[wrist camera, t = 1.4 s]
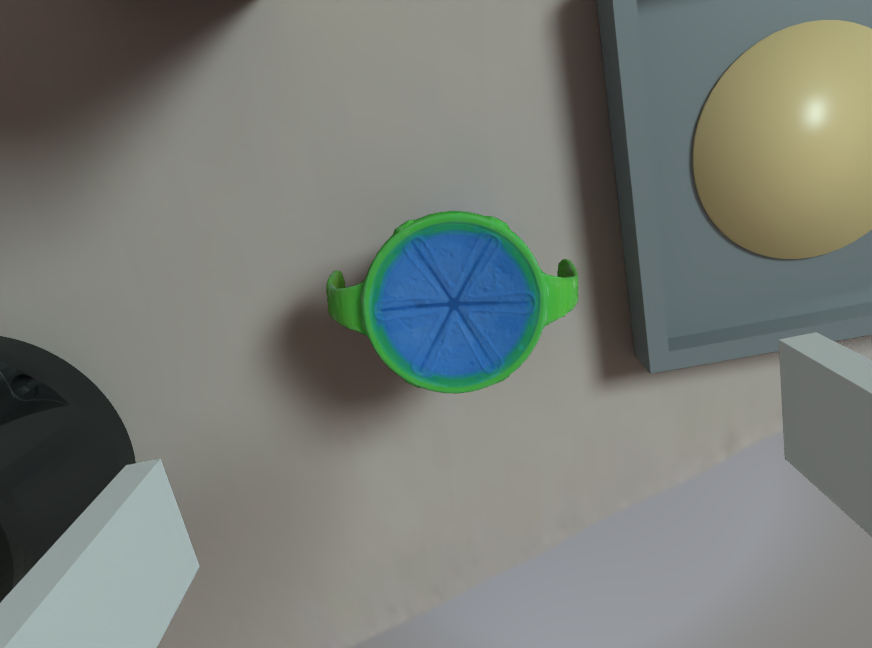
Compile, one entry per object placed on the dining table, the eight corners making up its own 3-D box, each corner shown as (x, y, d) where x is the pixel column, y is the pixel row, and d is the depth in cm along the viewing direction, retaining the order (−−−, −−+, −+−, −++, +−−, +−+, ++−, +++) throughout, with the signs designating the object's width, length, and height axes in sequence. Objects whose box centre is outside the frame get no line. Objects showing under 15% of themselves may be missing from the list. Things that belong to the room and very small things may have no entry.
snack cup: (567, 203, 32) (605, 222, 25) (550, 347, 34) (581, 402, 27) (342, 189, 32) (315, 204, 25) (339, 335, 34) (314, 387, 27)
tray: (634, 356, 35) (650, 373, 32) (593, -28, 29) (608, -43, 27) (975, 295, 34) (1019, 308, 31) (996, -113, 28) (1050, -137, 26)
